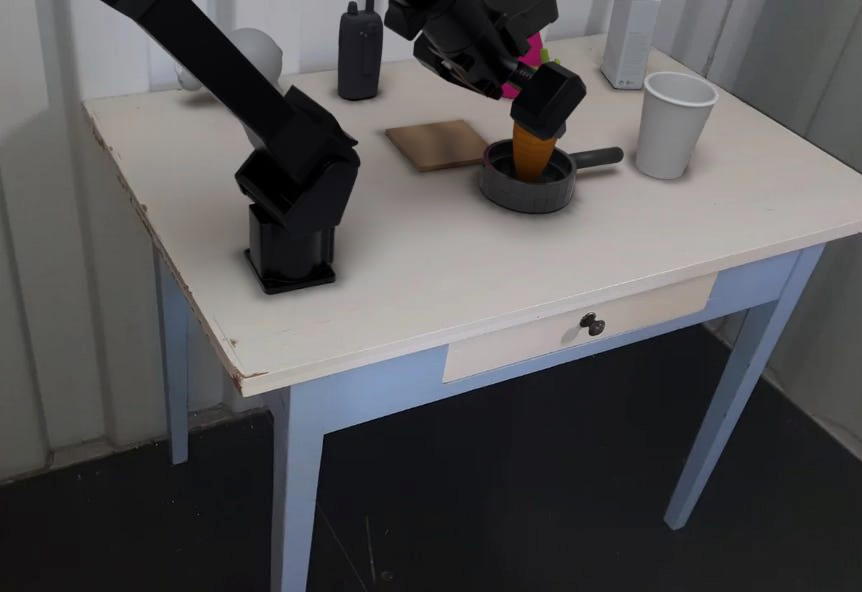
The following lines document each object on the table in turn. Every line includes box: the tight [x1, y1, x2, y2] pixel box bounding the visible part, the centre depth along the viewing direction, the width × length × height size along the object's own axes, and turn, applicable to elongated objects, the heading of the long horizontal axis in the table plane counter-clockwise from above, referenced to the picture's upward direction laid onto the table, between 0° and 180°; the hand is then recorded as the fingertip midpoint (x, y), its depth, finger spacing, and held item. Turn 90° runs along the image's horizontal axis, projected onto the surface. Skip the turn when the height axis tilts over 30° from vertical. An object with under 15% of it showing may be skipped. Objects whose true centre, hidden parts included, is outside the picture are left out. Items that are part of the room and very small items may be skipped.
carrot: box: [512, 47, 562, 183], centre depth 94 cm, size 5×5×15 cm
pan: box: [478, 137, 578, 214], centre depth 98 cm, size 10×10×4 cm
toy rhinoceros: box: [173, 27, 284, 97], centre depth 103 cm, size 7×12×8 cm, turn 117°
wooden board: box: [384, 119, 490, 173], centre depth 104 cm, size 10×9×1 cm
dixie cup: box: [634, 71, 720, 180], centre depth 104 cm, size 8×8×10 cm
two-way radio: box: [337, 0, 384, 100], centre depth 107 cm, size 6×4×15 cm
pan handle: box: [567, 146, 625, 170], centre depth 101 cm, size 8×2×2 cm, turn 119°
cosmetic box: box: [600, 0, 662, 90], centre depth 122 cm, size 6×4×12 cm
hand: (530, 114), depth 93 cm, fingers open, 9 cm apart
